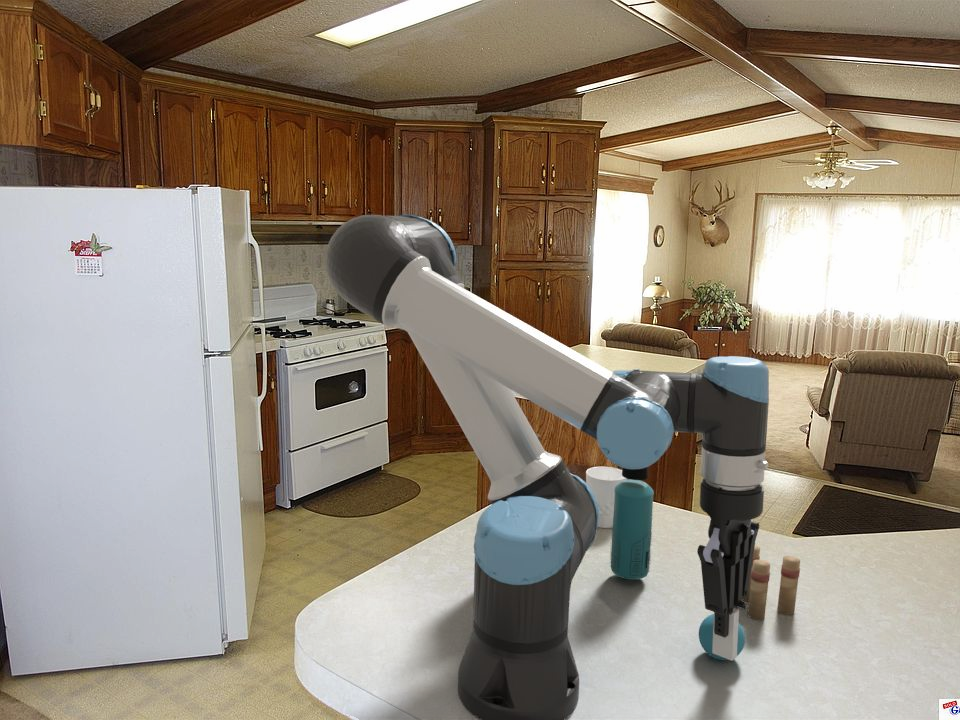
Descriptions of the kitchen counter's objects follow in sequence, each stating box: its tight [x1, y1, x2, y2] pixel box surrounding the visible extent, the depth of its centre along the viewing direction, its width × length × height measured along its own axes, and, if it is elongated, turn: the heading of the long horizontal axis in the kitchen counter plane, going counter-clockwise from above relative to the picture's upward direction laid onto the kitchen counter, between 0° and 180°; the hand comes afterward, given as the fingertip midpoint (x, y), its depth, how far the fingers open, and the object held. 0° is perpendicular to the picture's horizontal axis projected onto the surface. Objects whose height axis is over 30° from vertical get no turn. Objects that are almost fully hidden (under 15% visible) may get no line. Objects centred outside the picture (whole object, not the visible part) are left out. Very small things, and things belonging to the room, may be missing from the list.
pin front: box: [747, 559, 771, 621], centre depth 110 cm, size 3×3×8 cm
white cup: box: [585, 466, 628, 529], centre depth 143 cm, size 8×8×10 cm
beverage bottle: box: [609, 466, 655, 580], centre depth 119 cm, size 6×7×20 cm
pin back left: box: [742, 544, 761, 602], centre depth 115 cm, size 3×3×8 cm
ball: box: [698, 613, 746, 661], centre depth 100 cm, size 6×6×6 cm
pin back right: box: [777, 555, 801, 616], centre depth 112 cm, size 3×2×8 cm
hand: (724, 654), depth 96 cm, fingers closed
